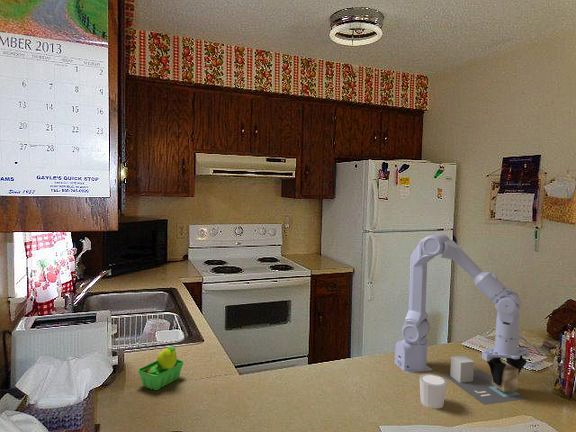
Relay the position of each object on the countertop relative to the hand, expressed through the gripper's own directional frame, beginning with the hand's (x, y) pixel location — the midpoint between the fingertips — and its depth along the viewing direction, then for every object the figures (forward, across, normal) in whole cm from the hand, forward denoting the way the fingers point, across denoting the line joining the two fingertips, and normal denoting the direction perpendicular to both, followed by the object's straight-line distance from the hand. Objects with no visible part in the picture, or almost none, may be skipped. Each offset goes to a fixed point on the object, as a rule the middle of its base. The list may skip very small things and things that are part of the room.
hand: (504, 382), depth 112 cm
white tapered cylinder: (+3, -24, -1) cm, 24 cm away
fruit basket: (+3, -94, +27) cm, 98 cm away
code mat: (+3, -4, +4) cm, 6 cm away
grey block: (+2, -7, +9) cm, 12 cm away
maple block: (+1, 0, 0) cm, 1 cm away
